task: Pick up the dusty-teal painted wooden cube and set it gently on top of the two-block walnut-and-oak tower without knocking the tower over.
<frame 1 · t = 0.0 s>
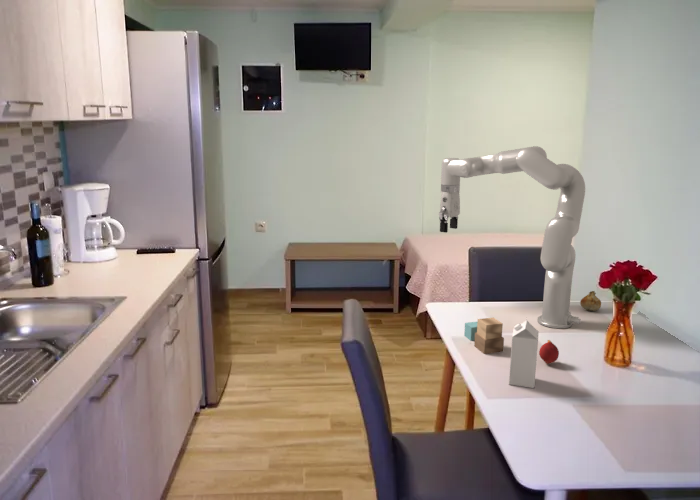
hand: (448, 230, 232), 31 cm above the table, tool pointing down, fingers open, 9 cm apart
oak middle block: (489, 335, 189), point 5 cm above the table, touching walnut base block
onion: (548, 364, 178), on the table
walnut base block: (488, 349, 190), on the table, touching oak middle block
milk carton: (521, 382, 166), on the table
onion 2: (589, 310, 228), on the table
teal cube: (473, 337, 200), on the table
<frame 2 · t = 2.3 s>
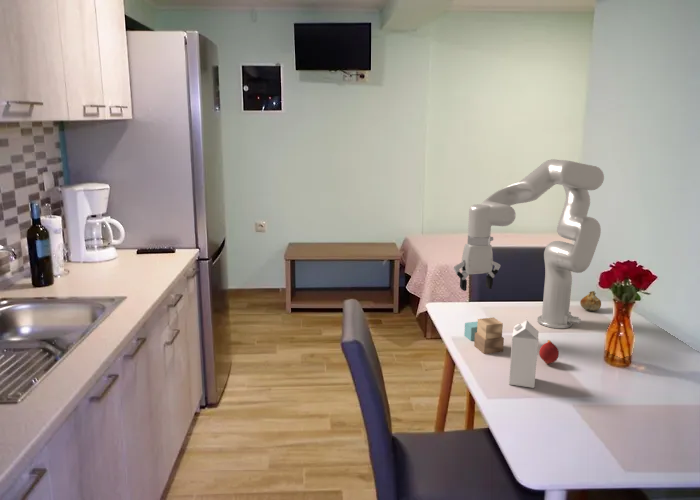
hand: (476, 288, 196), 18 cm above the table, tool pointing down, fingers open, 9 cm apart
nothing on the table moved.
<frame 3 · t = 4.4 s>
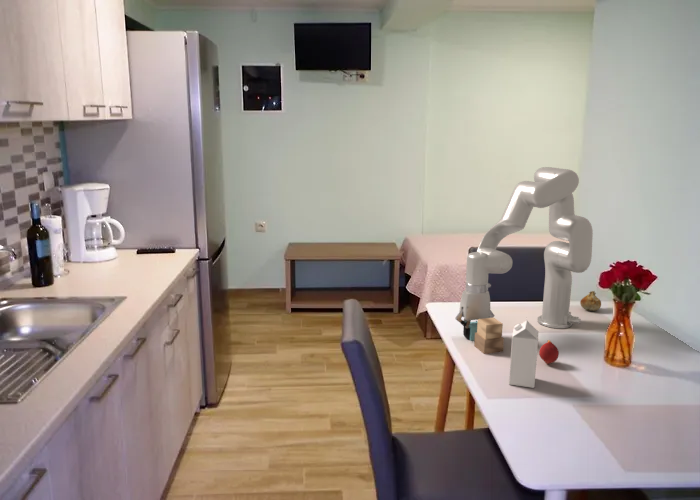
hand: (474, 336, 200), 0 cm above the table, tool pointing down, fingers closed on teal cube, 5 cm apart
teal cube: (473, 337, 200), on the table, touching gripper
everything else where it was.
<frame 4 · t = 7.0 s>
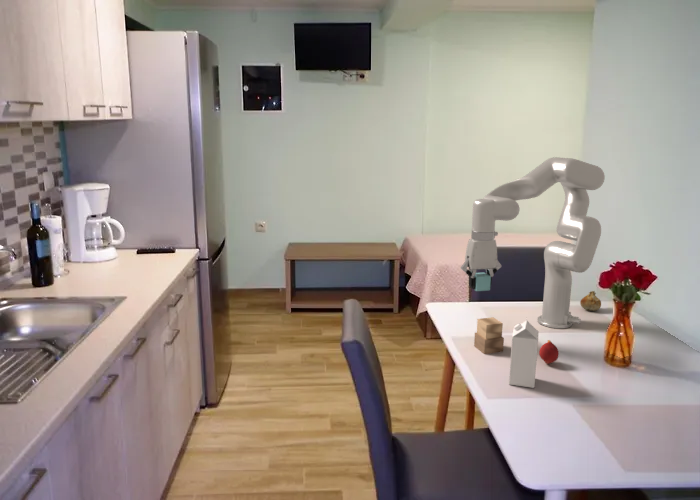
hand: (480, 287, 193), 19 cm above the table, tool pointing down, fingers closed on teal cube, 4 cm apart
teal cube: (479, 288, 193), point 19 cm above the table, touching gripper
everything else where it was.
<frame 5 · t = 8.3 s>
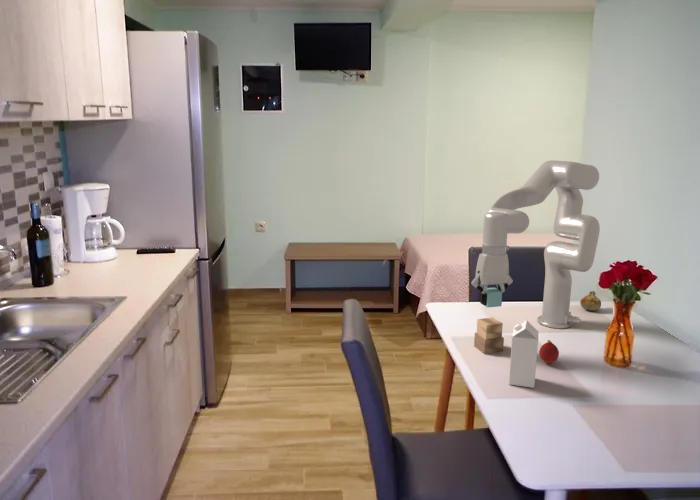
hand: (490, 303, 186), 16 cm above the table, tool pointing down, fingers closed on teal cube, 4 cm apart
teal cube: (490, 304, 186), point 16 cm above the table, touching gripper
everything else where it was.
when the fingers open (12 cm above the table, at t = 9.5 s): teal cube drops 2 cm, resting on oak middle block.
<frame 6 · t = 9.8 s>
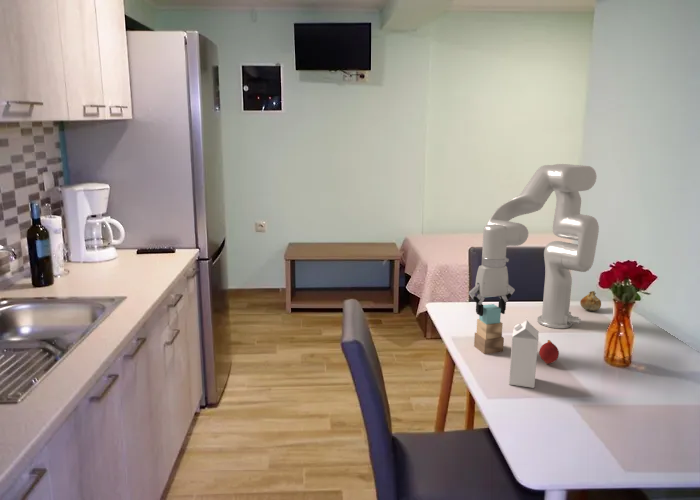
hand: (490, 313, 187), 13 cm above the table, tool pointing down, fingers open, 7 cm apart
oak middle block: (488, 335, 189), point 5 cm above the table, touching teal cube, walnut base block
teal cube: (489, 321, 188), point 10 cm above the table, touching oak middle block
everything else where it was.
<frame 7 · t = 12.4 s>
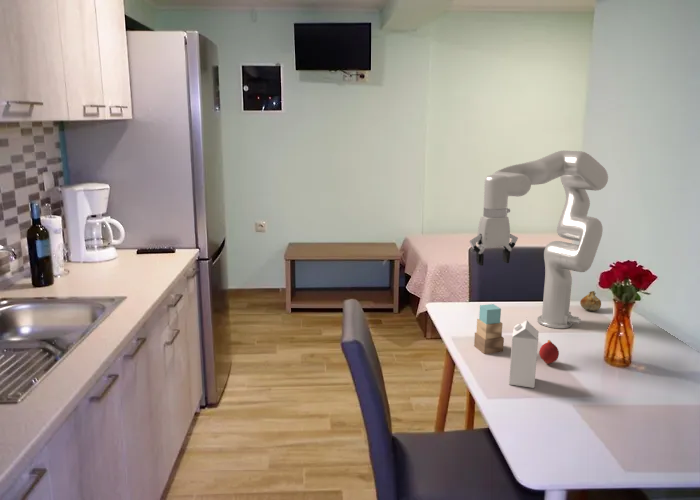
hand: (492, 263, 188), 29 cm above the table, tool pointing down, fingers open, 9 cm apart
nothing on the table moved.
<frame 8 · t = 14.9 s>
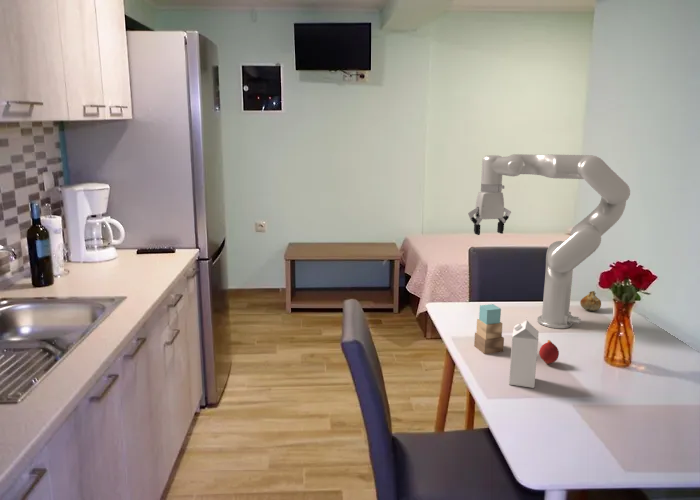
hand: (488, 233, 214), 33 cm above the table, tool pointing down, fingers open, 9 cm apart
nothing on the table moved.
at the end: teal cube 0.1 cm off-centre on the oak middle block, point 5.0 cm above the oak middle block's base; oak middle block 0.1 cm from the target spot, point 4.9 cm above the table; the gripper is holding nothing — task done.
